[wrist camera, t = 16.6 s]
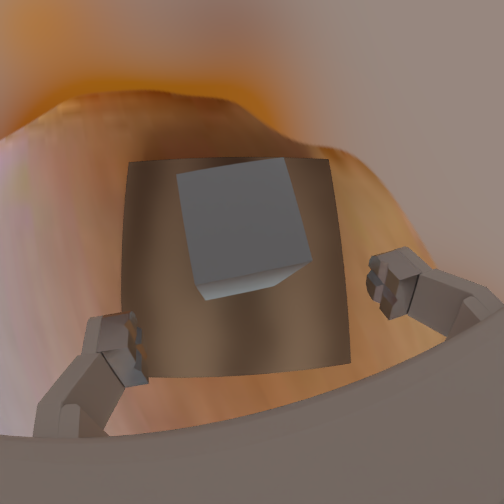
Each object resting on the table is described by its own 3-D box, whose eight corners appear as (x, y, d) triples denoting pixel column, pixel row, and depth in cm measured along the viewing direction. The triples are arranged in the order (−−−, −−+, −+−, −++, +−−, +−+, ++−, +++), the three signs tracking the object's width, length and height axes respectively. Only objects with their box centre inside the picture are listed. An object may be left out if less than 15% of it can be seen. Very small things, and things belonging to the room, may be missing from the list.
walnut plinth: (137, 369, 20) (125, 376, 17) (138, 180, 22) (128, 162, 20) (334, 358, 21) (350, 363, 18) (316, 177, 24) (328, 159, 21)
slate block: (205, 300, 18) (195, 285, 10) (192, 233, 19) (176, 174, 11) (274, 286, 19) (312, 260, 11) (258, 220, 20) (283, 157, 12)
